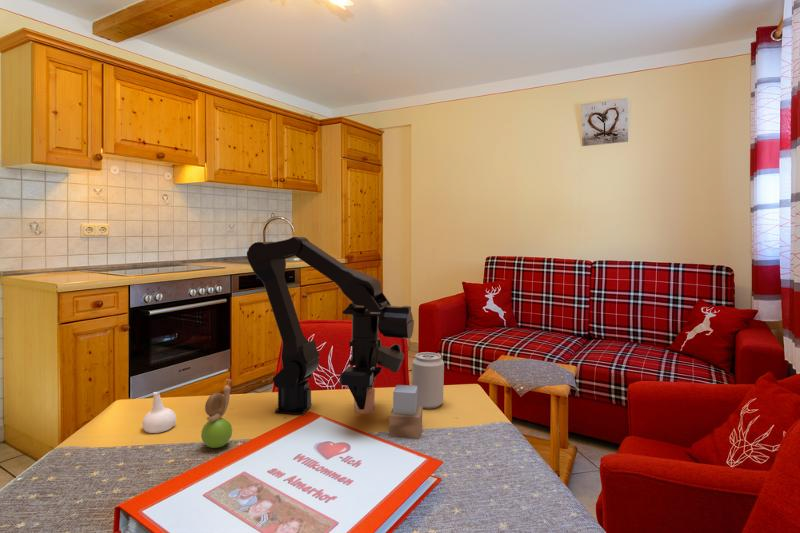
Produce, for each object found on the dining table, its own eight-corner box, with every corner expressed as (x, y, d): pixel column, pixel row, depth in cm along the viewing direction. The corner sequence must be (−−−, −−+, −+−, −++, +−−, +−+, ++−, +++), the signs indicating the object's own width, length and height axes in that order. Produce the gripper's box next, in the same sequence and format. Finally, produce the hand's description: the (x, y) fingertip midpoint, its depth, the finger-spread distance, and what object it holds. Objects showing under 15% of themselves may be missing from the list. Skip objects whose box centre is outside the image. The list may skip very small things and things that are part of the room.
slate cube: (393, 413, 94) (393, 391, 94) (396, 405, 99) (396, 384, 99) (415, 415, 94) (415, 393, 94) (417, 406, 98) (417, 386, 98)
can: (443, 399, 115) (444, 351, 114) (442, 410, 108) (444, 359, 107) (412, 397, 116) (413, 350, 115) (410, 409, 108) (411, 358, 108)
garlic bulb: (182, 423, 99) (181, 387, 98) (163, 436, 93) (162, 397, 92) (155, 421, 100) (155, 385, 99) (135, 433, 94) (134, 395, 93)
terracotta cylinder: (351, 413, 101) (351, 392, 101) (356, 405, 105) (357, 385, 105) (372, 414, 100) (372, 394, 100) (376, 406, 105) (376, 387, 104)
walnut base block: (389, 437, 94) (389, 415, 94) (394, 425, 100) (394, 404, 99) (418, 439, 93) (419, 417, 93) (422, 427, 99) (422, 406, 99)
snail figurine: (241, 440, 91) (241, 380, 90) (218, 455, 85) (218, 390, 84) (218, 436, 93) (218, 377, 92) (194, 450, 87) (193, 387, 86)
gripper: (394, 347, 91) (393, 425, 92) (407, 328, 109) (406, 393, 111) (339, 344, 93) (338, 420, 94) (361, 326, 111) (360, 390, 112)
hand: (364, 405), depth 103 cm, fingers closed on terracotta cylinder, 4 cm apart
